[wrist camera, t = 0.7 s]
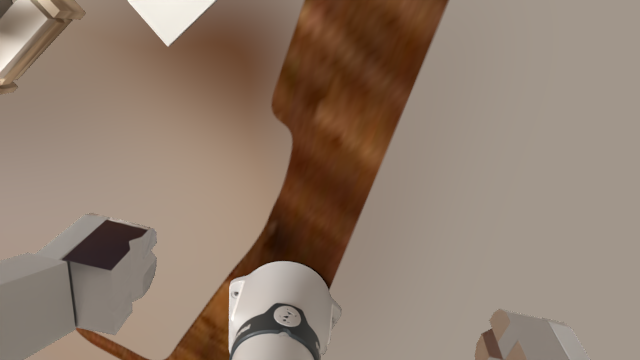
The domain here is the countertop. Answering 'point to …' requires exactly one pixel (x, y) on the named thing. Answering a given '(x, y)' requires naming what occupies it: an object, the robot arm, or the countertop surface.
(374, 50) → the countertop surface
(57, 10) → the birch rack
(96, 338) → the countertop surface
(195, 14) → the ceramic tile
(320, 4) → the countertop surface
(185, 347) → the countertop surface
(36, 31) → the light wood bar
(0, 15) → the beverage can
